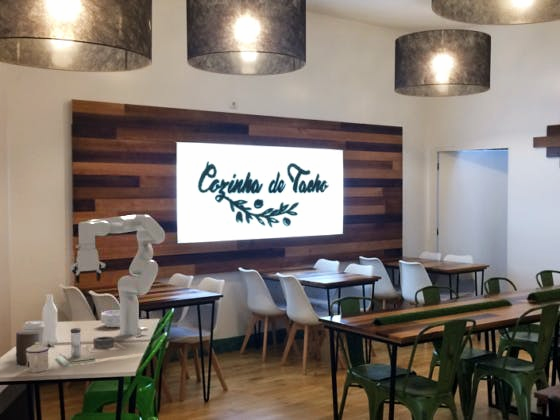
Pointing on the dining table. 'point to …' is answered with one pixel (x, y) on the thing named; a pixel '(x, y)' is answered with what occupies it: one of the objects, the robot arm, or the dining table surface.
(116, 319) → the paper bowls
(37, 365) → the teacup with lid
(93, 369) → the dining table surface
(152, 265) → the robot arm
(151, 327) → the dining table surface
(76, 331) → the steel peg
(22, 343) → the pillar candle
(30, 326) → the coffee cup
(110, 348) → the block
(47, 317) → the water bottle
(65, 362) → the sage pad
